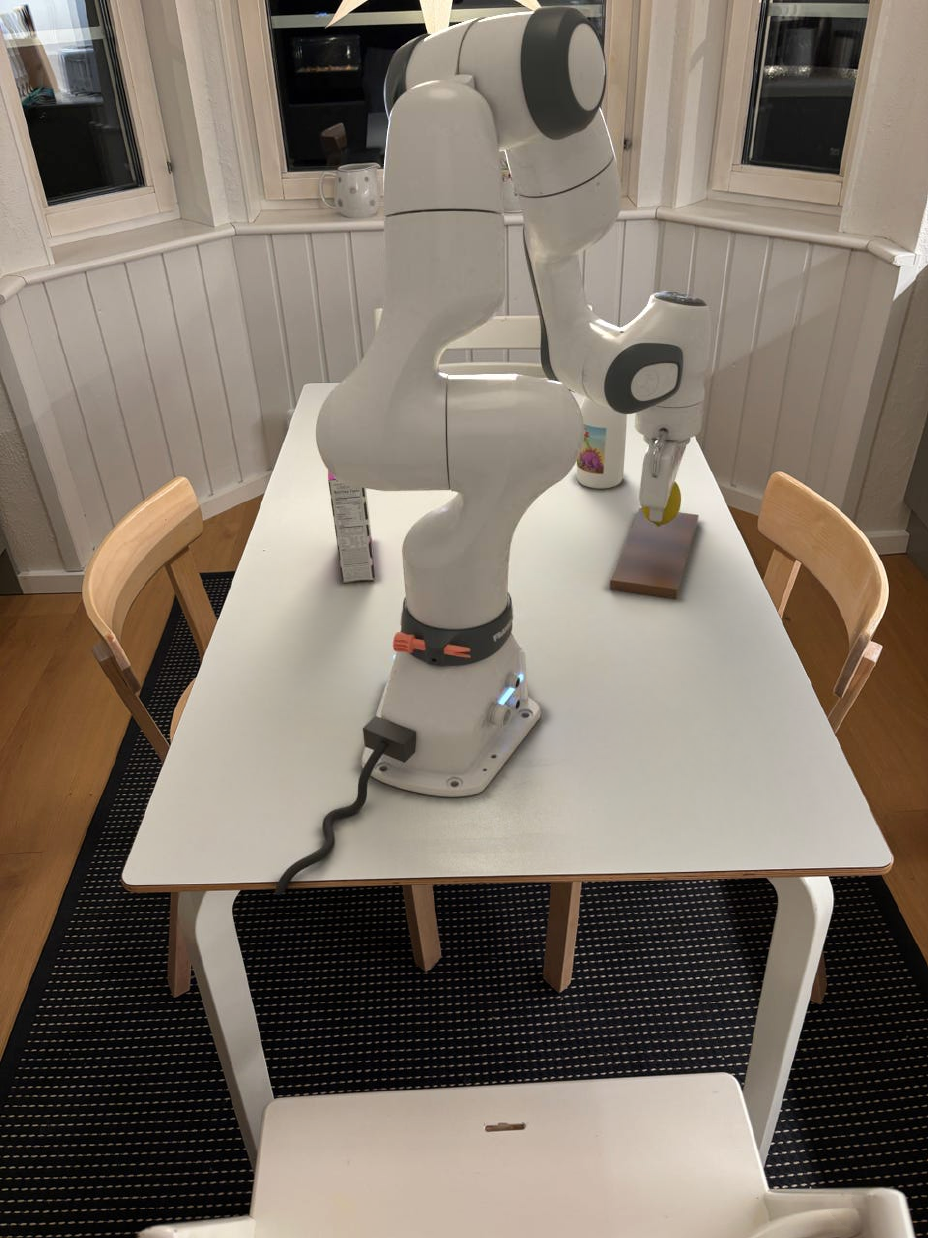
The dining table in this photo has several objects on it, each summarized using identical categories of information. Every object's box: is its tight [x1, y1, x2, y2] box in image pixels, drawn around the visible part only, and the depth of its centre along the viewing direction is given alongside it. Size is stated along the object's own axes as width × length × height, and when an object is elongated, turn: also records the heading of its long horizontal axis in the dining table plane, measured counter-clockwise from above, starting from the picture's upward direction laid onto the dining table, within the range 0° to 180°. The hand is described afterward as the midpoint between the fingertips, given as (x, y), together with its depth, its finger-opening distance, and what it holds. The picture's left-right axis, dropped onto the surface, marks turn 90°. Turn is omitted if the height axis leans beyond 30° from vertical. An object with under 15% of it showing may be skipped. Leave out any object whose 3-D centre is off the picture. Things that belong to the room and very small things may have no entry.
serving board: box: [609, 507, 699, 600], centre depth 137 cm, size 22×9×2 cm, turn 161°
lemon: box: [640, 481, 682, 526], centre depth 135 cm, size 6×6×8 cm
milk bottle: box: [575, 397, 628, 489], centre depth 153 cm, size 8×8×20 cm
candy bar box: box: [327, 470, 376, 584], centre depth 134 cm, size 11×5×16 cm, turn 7°
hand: (660, 507), depth 136 cm, fingers closed on lemon, 5 cm apart
